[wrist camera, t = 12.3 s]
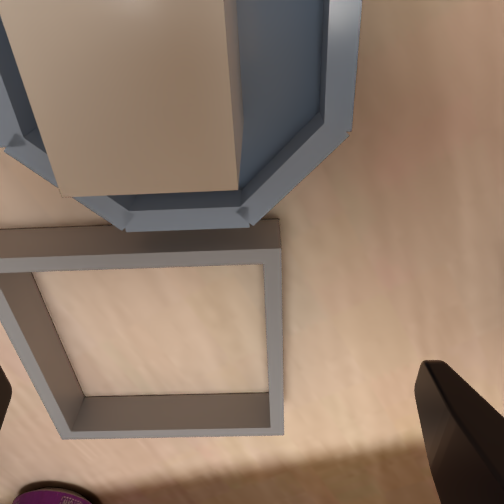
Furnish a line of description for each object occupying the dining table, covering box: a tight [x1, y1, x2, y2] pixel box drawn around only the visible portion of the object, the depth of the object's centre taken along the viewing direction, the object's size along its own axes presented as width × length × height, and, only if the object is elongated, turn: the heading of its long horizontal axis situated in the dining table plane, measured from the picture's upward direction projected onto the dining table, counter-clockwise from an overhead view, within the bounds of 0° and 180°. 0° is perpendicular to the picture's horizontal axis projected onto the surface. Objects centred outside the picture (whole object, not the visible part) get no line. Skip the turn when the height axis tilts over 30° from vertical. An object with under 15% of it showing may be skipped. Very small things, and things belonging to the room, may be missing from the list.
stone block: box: [0, 0, 244, 197], centre depth 13 cm, size 5×5×6 cm
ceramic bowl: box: [0, 0, 362, 232], centre depth 15 cm, size 13×13×2 cm
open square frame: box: [0, 219, 284, 439], centre depth 24 cm, size 14×14×2 cm
